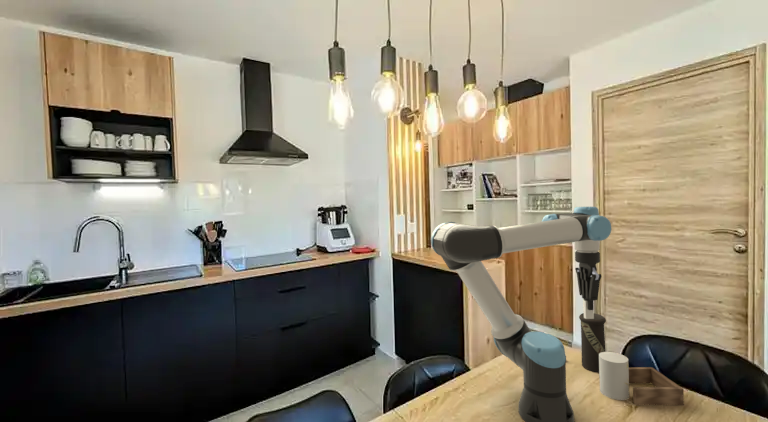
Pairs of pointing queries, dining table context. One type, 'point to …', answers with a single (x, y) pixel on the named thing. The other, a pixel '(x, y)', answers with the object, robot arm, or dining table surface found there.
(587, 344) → the container
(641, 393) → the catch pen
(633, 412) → the dining table surface
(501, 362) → the dining table surface
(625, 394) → the white cylinder
